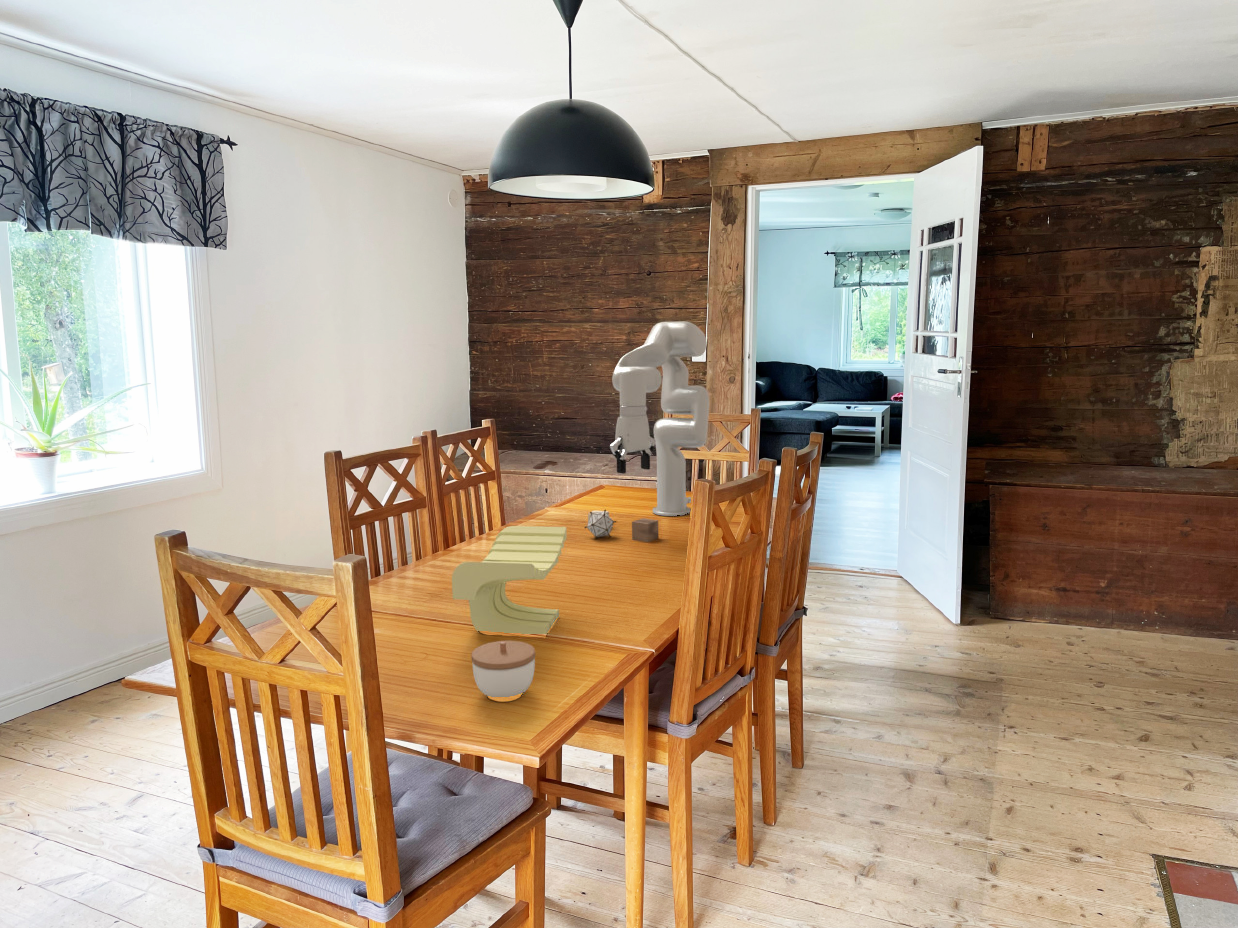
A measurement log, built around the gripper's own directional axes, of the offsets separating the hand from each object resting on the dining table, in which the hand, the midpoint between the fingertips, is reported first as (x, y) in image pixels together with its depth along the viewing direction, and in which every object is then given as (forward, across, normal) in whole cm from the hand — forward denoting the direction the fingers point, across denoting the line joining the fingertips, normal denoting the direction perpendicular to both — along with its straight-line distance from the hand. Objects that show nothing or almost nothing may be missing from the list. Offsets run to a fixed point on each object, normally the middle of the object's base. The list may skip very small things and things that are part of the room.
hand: (633, 471), depth 249 cm
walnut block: (+20, -3, +2) cm, 21 cm away
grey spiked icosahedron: (+20, -3, -18) cm, 28 cm away
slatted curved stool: (+21, +68, +34) cm, 79 cm away
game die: (+20, +5, -9) cm, 23 cm away
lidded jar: (+22, +90, +61) cm, 111 cm away
